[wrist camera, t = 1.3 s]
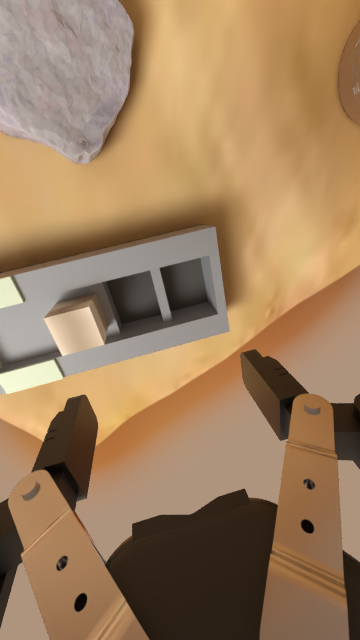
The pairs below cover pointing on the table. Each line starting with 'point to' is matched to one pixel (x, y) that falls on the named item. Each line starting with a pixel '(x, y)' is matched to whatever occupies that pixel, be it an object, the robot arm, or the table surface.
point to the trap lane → (113, 304)
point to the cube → (77, 324)
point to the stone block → (64, 72)
